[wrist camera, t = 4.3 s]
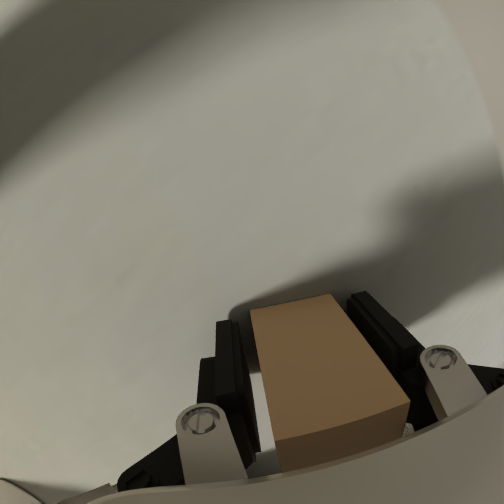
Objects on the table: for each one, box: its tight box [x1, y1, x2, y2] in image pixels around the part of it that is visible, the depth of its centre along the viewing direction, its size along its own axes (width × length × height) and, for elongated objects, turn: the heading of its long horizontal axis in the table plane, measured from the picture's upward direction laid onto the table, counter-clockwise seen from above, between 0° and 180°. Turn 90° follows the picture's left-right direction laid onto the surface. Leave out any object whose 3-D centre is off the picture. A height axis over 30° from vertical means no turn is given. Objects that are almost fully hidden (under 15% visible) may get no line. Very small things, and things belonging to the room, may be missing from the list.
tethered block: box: [250, 294, 410, 473], centre depth 11 cm, size 17×5×6 cm, turn 10°
